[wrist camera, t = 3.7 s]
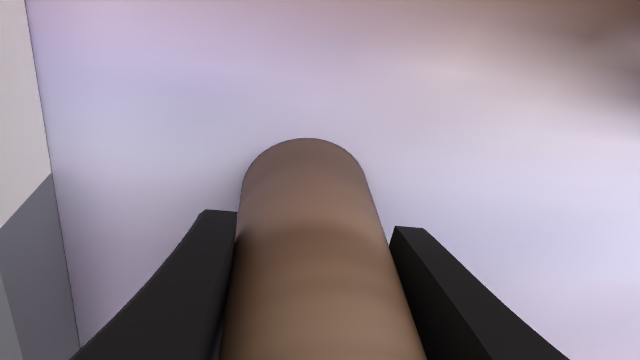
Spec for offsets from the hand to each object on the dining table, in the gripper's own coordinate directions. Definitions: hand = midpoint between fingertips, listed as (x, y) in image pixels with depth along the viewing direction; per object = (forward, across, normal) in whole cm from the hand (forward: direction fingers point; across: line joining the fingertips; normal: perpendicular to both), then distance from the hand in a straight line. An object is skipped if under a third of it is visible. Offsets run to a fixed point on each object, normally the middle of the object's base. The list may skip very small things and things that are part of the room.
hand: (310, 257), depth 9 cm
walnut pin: (+2, 0, 0) cm, 2 cm away
